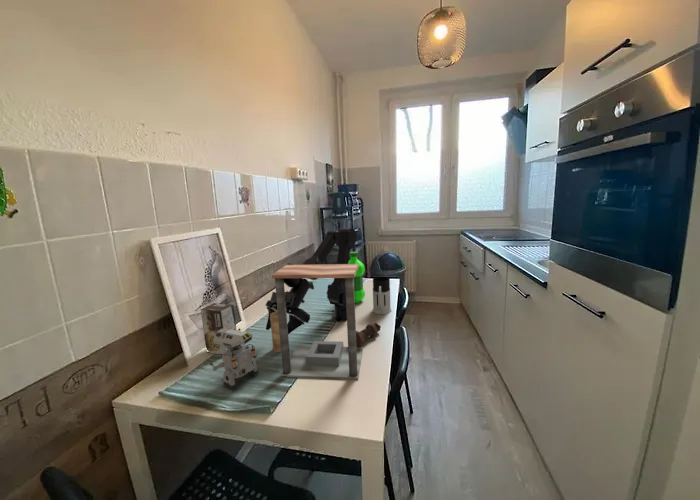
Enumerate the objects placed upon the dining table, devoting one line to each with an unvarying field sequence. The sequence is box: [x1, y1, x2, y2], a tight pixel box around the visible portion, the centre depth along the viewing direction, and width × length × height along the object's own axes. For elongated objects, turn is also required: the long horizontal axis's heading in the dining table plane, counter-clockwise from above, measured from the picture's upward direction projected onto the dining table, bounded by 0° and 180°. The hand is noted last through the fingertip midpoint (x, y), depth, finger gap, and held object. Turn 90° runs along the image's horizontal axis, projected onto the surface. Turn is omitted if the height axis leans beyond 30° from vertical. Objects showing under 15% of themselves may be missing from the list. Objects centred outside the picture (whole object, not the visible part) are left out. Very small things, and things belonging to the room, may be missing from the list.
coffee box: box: [200, 302, 237, 355], centre depth 103 cm, size 9×6×16 cm
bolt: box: [356, 322, 381, 347], centre depth 107 cm, size 6×5×15 cm
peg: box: [270, 312, 281, 353], centre depth 102 cm, size 4×4×13 cm
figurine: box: [209, 328, 259, 391], centre depth 85 cm, size 9×12×15 cm
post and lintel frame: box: [271, 263, 364, 380], centre depth 91 cm, size 18×23×31 cm
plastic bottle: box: [348, 251, 366, 304], centre depth 146 cm, size 10×10×25 cm
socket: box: [306, 340, 345, 366], centre depth 95 cm, size 10×10×4 cm
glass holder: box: [372, 276, 393, 315], centre depth 131 cm, size 9×14×15 cm, turn 170°
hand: (274, 333), depth 101 cm, fingers open, 9 cm apart
